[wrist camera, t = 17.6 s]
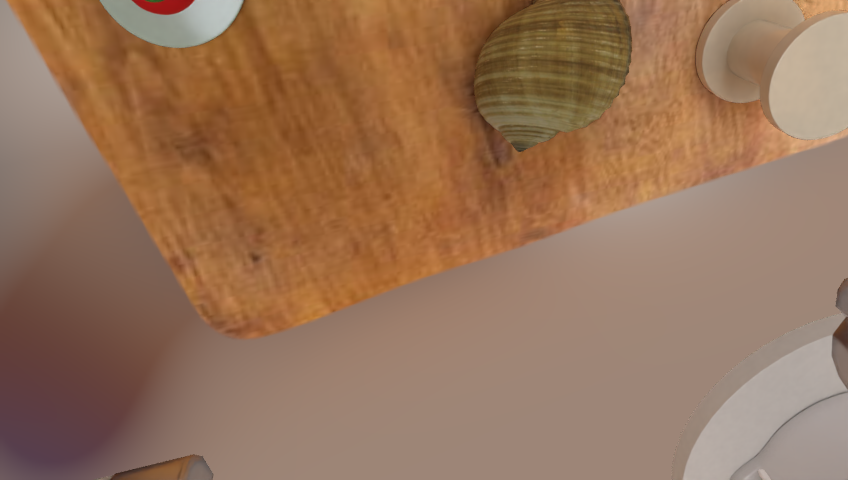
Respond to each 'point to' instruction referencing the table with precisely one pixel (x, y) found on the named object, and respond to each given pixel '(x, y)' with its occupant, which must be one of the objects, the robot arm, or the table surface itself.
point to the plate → (176, 21)
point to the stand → (779, 64)
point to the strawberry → (163, 6)
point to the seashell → (553, 68)
